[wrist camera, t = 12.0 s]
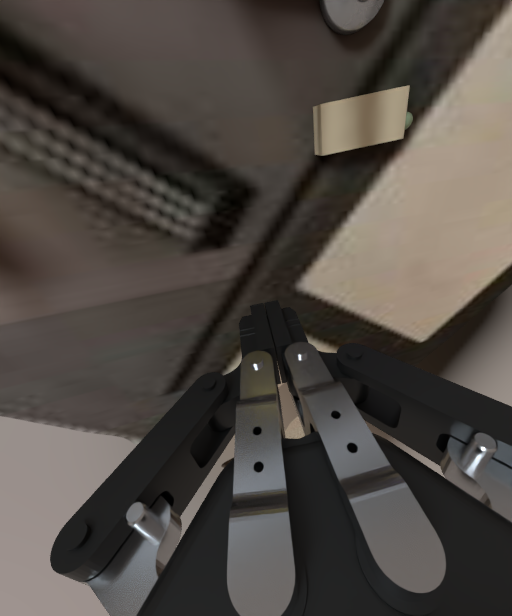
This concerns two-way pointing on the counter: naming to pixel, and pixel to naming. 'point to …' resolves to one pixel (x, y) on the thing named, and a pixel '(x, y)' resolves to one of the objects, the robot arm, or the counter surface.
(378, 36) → the counter surface
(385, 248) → the counter surface
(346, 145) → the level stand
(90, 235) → the counter surface
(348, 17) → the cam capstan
